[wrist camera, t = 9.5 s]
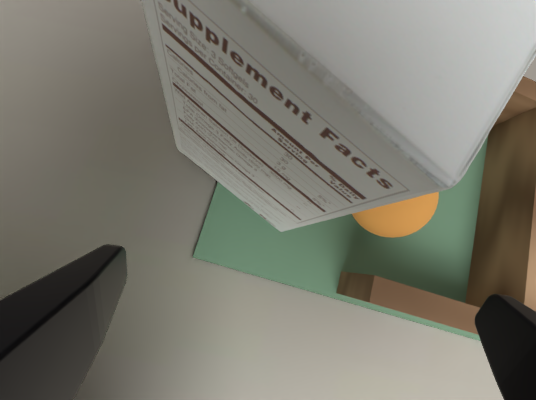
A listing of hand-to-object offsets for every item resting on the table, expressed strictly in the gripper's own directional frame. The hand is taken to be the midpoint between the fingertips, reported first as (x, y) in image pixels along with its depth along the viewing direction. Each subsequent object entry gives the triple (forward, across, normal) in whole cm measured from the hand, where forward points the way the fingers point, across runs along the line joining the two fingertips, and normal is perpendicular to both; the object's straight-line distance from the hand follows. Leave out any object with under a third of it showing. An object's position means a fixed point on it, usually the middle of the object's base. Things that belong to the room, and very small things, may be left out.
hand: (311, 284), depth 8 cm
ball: (+7, -5, 0) cm, 9 cm away
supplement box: (+12, +1, +1) cm, 12 cm away
